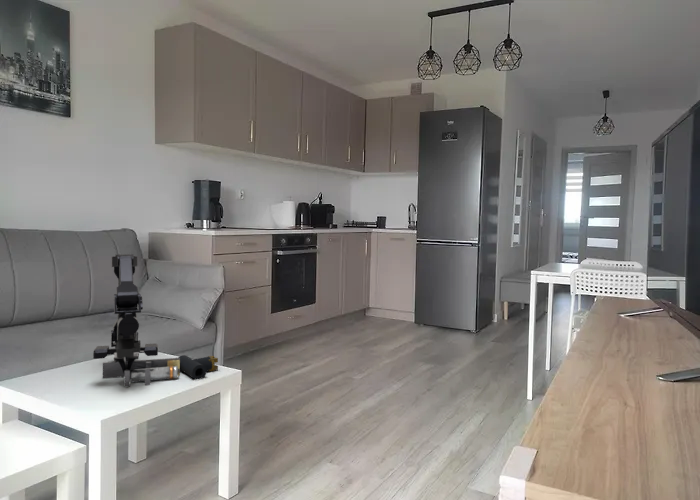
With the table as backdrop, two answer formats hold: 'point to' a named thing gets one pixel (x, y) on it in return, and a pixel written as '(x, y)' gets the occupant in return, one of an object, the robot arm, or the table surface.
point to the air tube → (155, 373)
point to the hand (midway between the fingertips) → (126, 377)
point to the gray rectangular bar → (137, 366)
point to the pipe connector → (197, 366)
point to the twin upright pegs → (128, 375)
